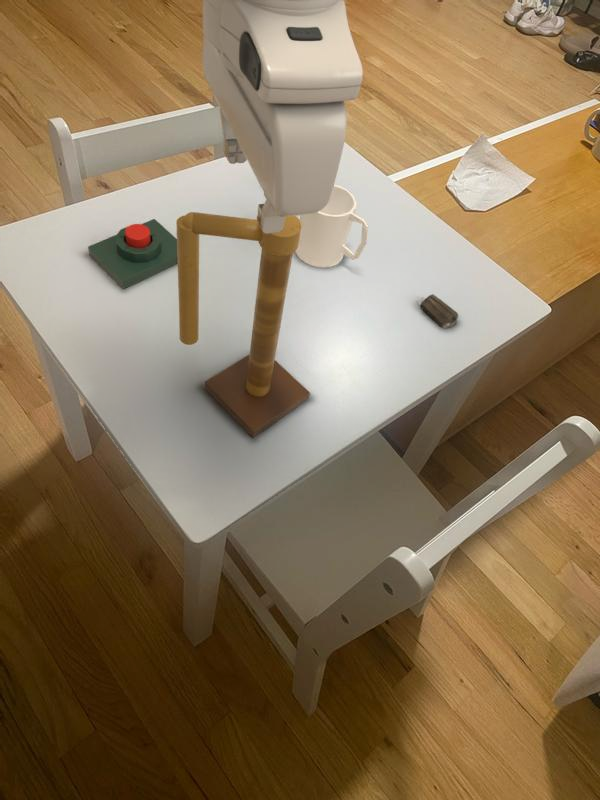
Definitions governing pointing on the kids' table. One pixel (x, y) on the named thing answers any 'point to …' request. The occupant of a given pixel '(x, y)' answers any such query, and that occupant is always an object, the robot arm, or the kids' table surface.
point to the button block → (136, 255)
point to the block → (439, 311)
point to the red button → (137, 236)
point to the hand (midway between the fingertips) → (251, 191)
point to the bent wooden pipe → (221, 227)
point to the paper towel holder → (261, 359)
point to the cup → (330, 231)
